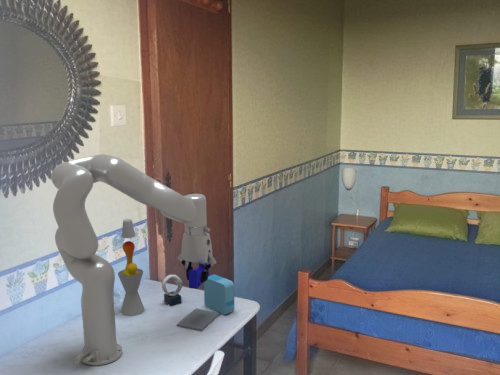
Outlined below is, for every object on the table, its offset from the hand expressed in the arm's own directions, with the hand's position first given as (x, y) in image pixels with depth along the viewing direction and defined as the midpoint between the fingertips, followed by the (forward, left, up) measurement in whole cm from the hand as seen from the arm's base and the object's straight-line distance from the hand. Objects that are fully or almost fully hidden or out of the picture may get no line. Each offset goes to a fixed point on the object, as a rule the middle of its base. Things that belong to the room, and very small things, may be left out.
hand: (197, 279), depth 176 cm
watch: (+10, +16, -16) cm, 25 cm away
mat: (0, 0, -15) cm, 15 cm away
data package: (+11, -3, -16) cm, 19 cm away
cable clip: (0, 0, -1) cm, 1 cm away
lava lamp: (-2, +26, -16) cm, 31 cm away
